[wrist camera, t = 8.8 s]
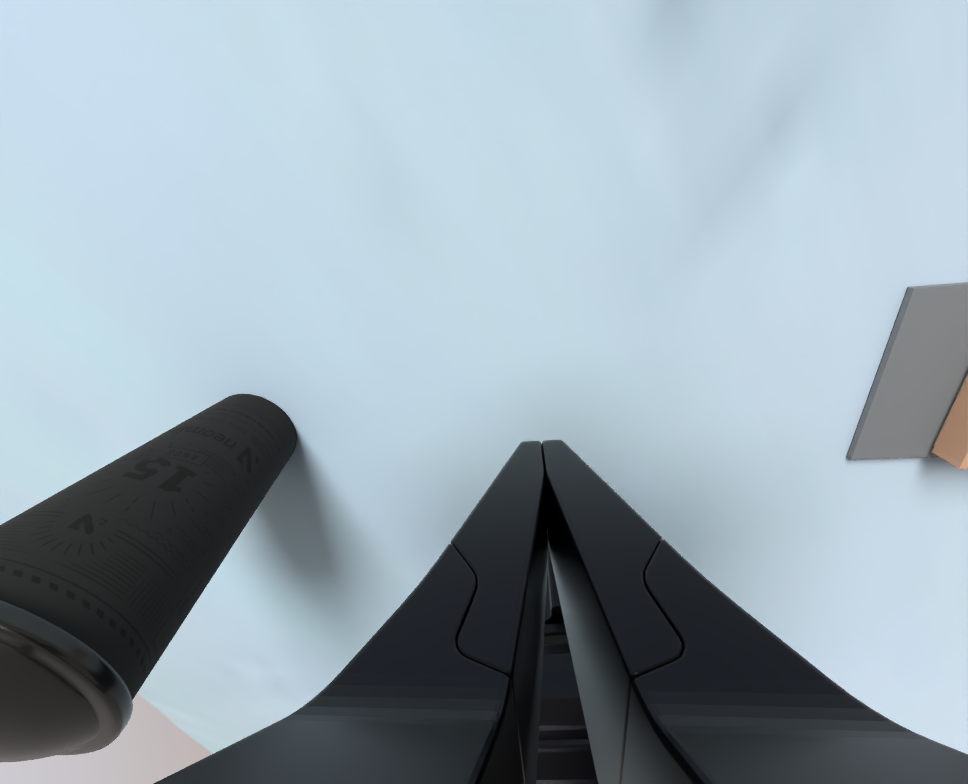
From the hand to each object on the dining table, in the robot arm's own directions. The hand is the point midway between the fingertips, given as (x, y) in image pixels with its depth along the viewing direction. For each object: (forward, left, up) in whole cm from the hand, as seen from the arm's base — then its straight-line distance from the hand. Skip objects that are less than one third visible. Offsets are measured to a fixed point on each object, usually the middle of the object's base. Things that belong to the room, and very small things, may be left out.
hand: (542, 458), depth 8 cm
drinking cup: (-6, +16, -12) cm, 21 cm away
